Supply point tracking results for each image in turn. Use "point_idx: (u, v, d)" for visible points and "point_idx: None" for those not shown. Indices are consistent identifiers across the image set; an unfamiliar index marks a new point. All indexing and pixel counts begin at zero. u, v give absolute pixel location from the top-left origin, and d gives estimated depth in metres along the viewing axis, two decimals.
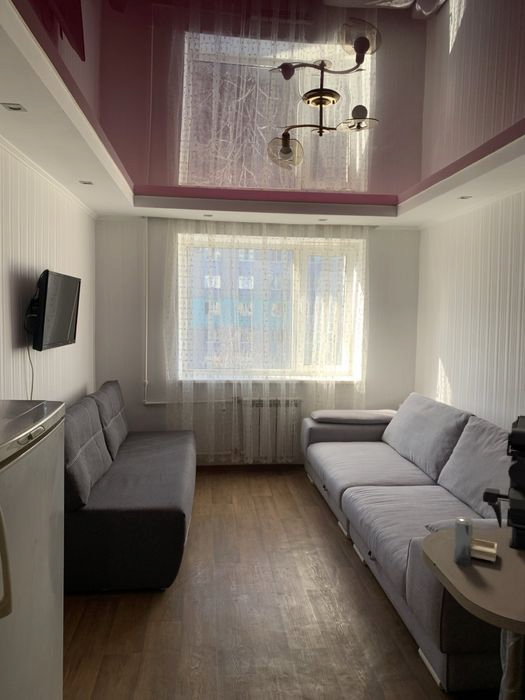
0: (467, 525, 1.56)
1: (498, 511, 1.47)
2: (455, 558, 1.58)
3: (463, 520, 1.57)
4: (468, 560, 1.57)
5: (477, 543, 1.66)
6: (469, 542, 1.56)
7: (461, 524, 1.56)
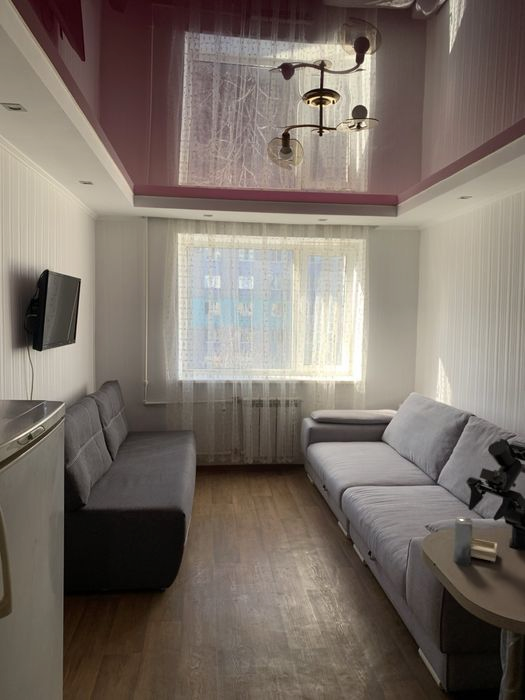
0: (467, 525, 1.56)
1: (473, 494, 1.67)
2: (455, 558, 1.58)
3: (463, 520, 1.57)
4: (468, 560, 1.57)
5: (477, 543, 1.66)
6: (468, 542, 1.56)
7: (461, 524, 1.56)
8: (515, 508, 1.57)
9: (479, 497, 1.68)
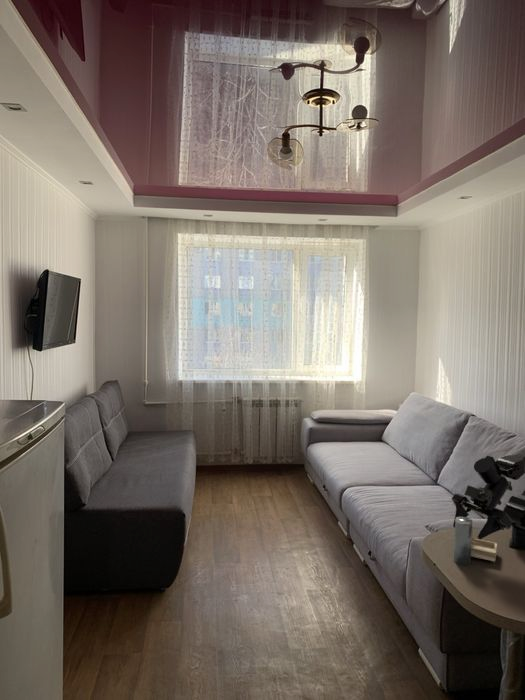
0: (467, 525, 1.56)
1: (458, 511, 1.64)
2: (455, 558, 1.58)
3: (463, 520, 1.57)
4: (468, 560, 1.57)
5: (477, 543, 1.66)
6: (468, 542, 1.56)
7: (461, 524, 1.56)
8: (500, 527, 1.55)
9: (464, 514, 1.65)
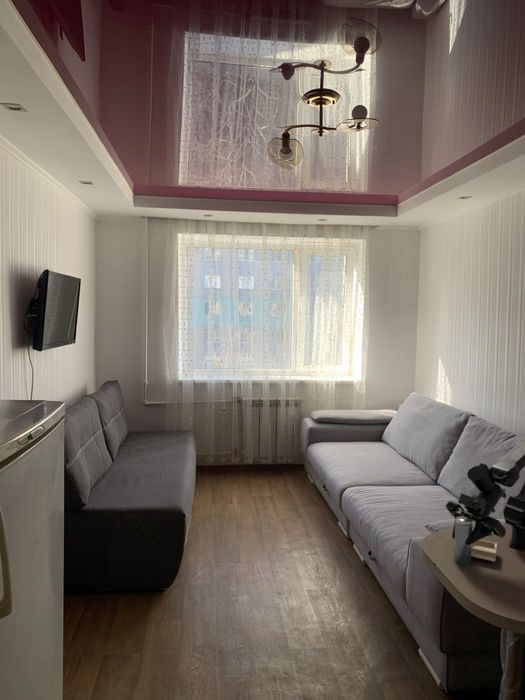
0: (467, 525, 1.56)
1: None
2: (455, 558, 1.58)
3: (463, 520, 1.57)
4: (468, 560, 1.57)
5: (477, 543, 1.66)
6: None
7: (461, 524, 1.56)
8: (488, 533, 1.55)
9: None
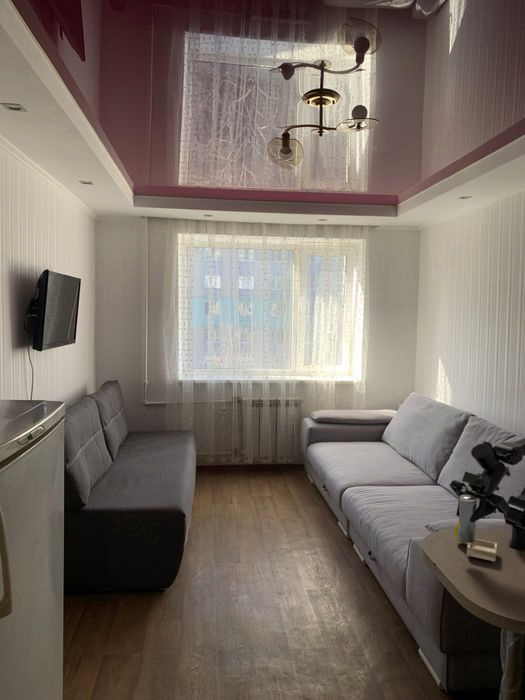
0: (471, 502, 1.56)
1: None
2: (460, 536, 1.58)
3: (467, 498, 1.58)
4: (473, 537, 1.57)
5: (477, 543, 1.66)
6: None
7: (465, 502, 1.56)
8: (492, 510, 1.56)
9: None
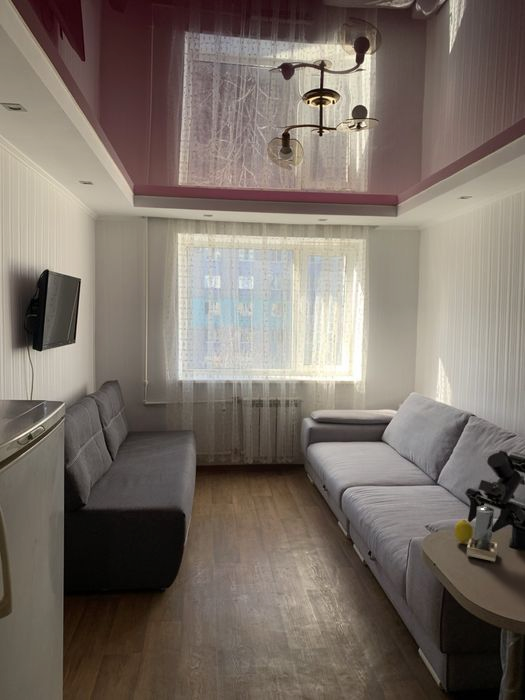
0: (488, 514, 1.59)
1: (473, 505, 1.67)
2: (476, 546, 1.62)
3: (484, 509, 1.61)
4: (489, 548, 1.60)
5: None
6: (490, 530, 1.60)
7: (482, 513, 1.60)
8: (513, 520, 1.57)
9: None
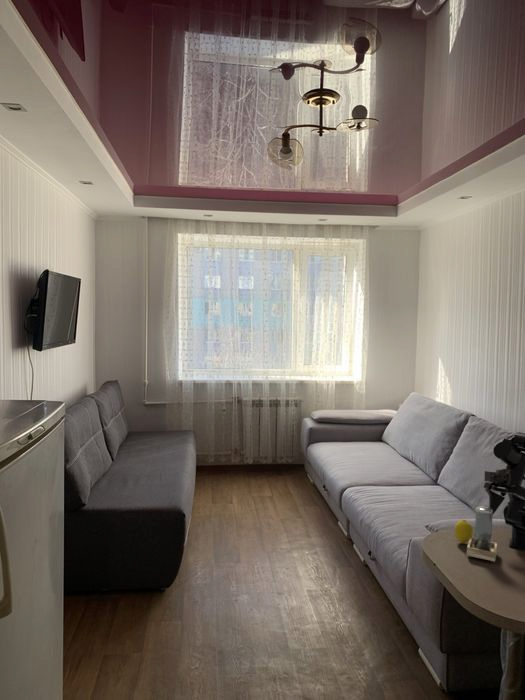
0: (488, 514, 1.59)
1: (491, 497, 1.70)
2: (476, 546, 1.62)
3: (484, 509, 1.61)
4: (489, 548, 1.60)
5: None
6: (489, 530, 1.60)
7: (481, 513, 1.60)
8: (524, 501, 1.58)
9: (499, 499, 1.70)
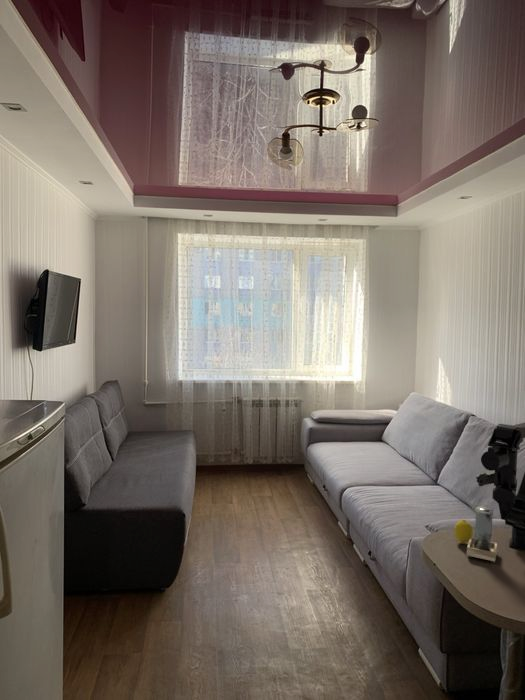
0: (488, 514, 1.59)
1: None
2: (476, 546, 1.62)
3: (484, 509, 1.61)
4: (489, 548, 1.60)
5: None
6: (489, 530, 1.60)
7: (481, 513, 1.60)
8: None
9: None
